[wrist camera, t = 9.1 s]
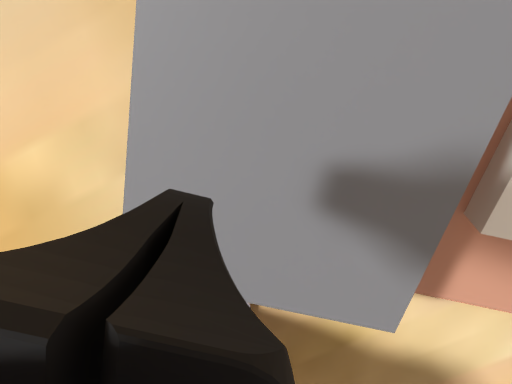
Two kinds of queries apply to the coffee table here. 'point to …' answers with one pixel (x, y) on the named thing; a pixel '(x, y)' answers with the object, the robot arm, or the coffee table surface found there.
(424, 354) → the coffee table surface
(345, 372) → the coffee table surface
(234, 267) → the deck
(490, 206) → the cream white tile
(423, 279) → the mat
